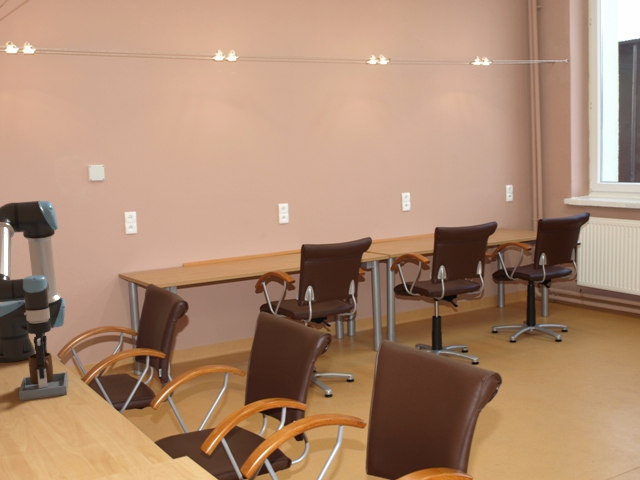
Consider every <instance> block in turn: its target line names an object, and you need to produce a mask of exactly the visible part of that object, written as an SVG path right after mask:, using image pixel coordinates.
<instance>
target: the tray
mask: <svg viewBox="0 0 640 480" xmlns="http://www.w3.org/2000/svg"><path fill="white" fill-rule="evenodd" d="M68 377H69V376H68V371H64V372H59V373H58V372H57V373H56V372H55V373H53V380H52V381H51V382H49V383H47V387H43V388H39V385H35V384H32V383H31V380H30V376H25V377H23V378H22V380H21V385H20V387H19V391H18V395H19V401H20V402H22V401H28V400H29V401H30V400H35V399H36V400H38V399H43V398H45V399H46V398H49V397H50V398H51V397H58V396H65V395H67V394H68V385H69V378H68Z"/></svg>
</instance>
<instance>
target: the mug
mask: <svg viewBox="0 0 640 480" xmlns="http://www.w3.org/2000/svg"><path fill="white" fill-rule="evenodd" d="M44 355H45V368H46V376H47V383H49V382H51V381H52V380H53V374H54V366H53V357H52V354H51V353H49V352H47V353H44ZM36 367H37V365H36V353H35V354H33V355H31V356H29V358H28V369H29V370H28V371H29V377H30V380H31V383H32V384H35V385H39V384H38V374H37V370H35V368H36Z"/></svg>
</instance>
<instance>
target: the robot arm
mask: <svg viewBox="0 0 640 480" xmlns="http://www.w3.org/2000/svg"><path fill="white" fill-rule="evenodd" d="M57 219H58V218H57V214H56V211H55V207H54V205H53V203H52V202H51V201H49V200H34V201H23V202H22V201H21V202H9V203H6V204H5V203H4V204H2V205H1V206H0V363H12V362H20V361H25V360H27V359H28V360H29V356H31V355H33V354H36V365H37V367H36V368H35V370H37V374H38V384H39V388H43V387H47V376H46V368H45V355H44V353H48V348H47V335H46V334H47V333H48V332H50V331H51V330H52V329H56V328H60V327H62V326H64V324H65V314H66V313H65V311H66V299H65V298H62V294H60V292H58V291H57V284H56V273H55V263H54V255H53V244H52V238H53V236H55V231H57V230H58V229H59V225H58V220H57ZM15 233H22V235H23V237H24V238H25V239H26V240H27V242H28V252H29V259H30V269H31V275H28V276H26V277H24V278H18V279H16V278H15V279H11V278H12V277H11V276H12V275H11V274H12V273H11V272H12V271H11V270H12V269H11V267H12V238H13V237H14V235H15ZM30 335H35V336H34V337H33V342H32V340H31V338H30Z"/></svg>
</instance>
